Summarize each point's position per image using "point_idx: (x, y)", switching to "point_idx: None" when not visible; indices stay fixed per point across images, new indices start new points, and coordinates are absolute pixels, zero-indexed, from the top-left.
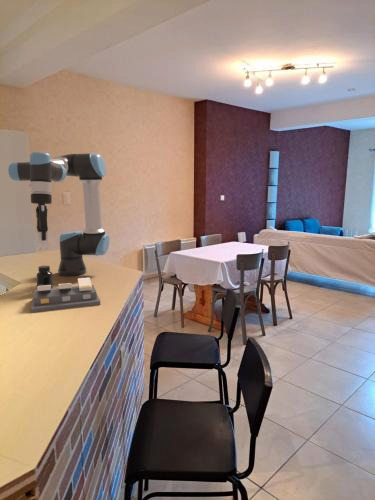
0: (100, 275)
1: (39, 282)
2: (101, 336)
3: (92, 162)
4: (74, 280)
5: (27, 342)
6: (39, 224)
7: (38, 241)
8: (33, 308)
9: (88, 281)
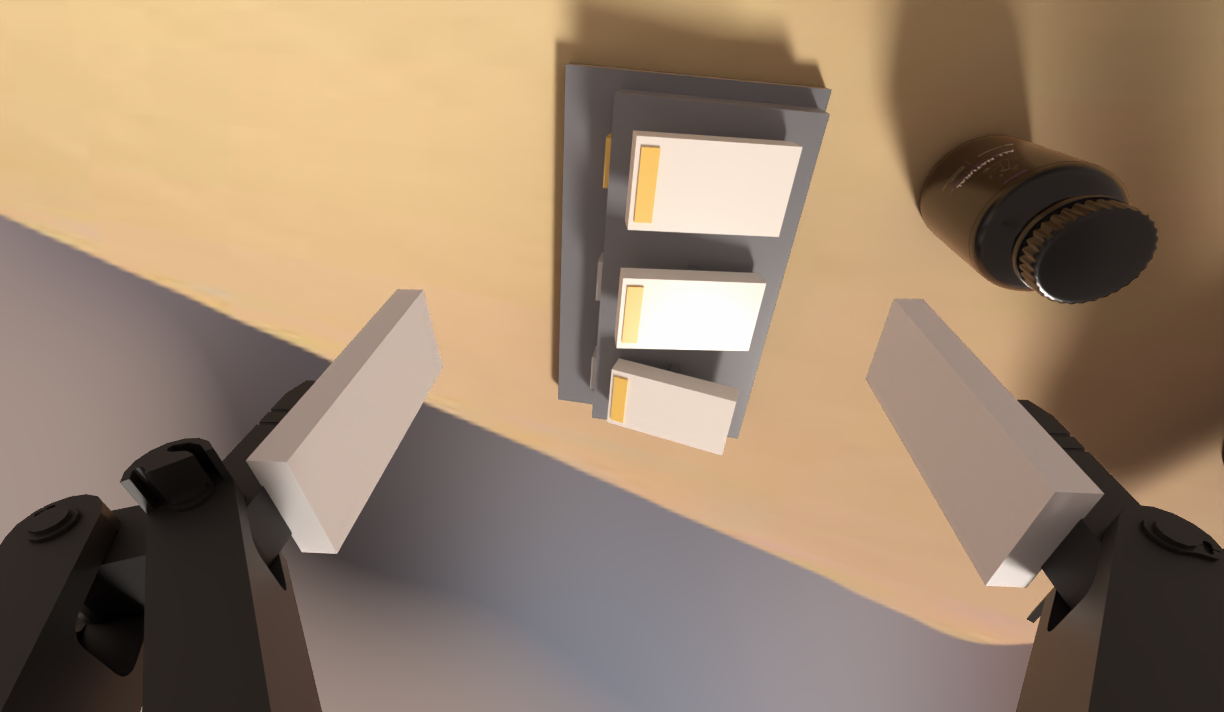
0: None
1: (989, 169)
2: (222, 305)
3: None
4: (1112, 393)
5: (160, 23)
6: (258, 632)
7: (924, 352)
8: (565, 80)
9: (673, 431)
